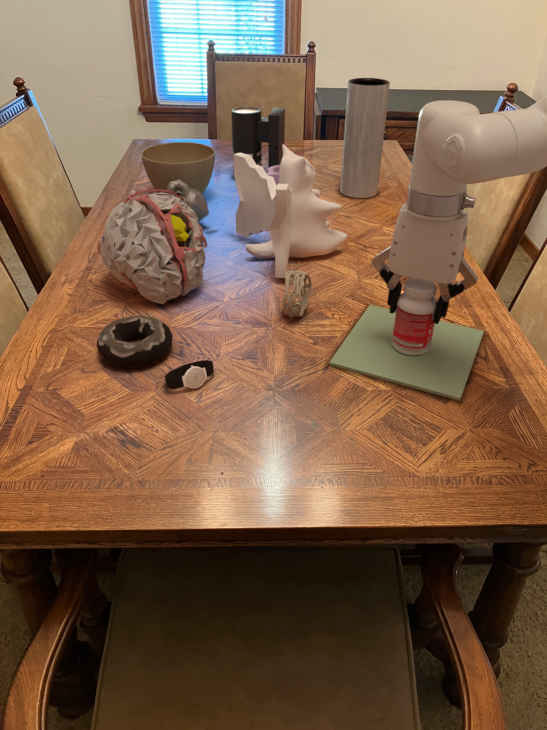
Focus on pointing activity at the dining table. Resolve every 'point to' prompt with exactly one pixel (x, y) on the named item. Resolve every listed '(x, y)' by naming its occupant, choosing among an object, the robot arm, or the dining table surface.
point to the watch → (189, 375)
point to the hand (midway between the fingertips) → (415, 313)
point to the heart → (190, 198)
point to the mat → (423, 372)
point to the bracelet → (296, 292)
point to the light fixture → (258, 133)
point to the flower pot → (179, 164)
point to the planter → (363, 136)
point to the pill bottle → (415, 317)
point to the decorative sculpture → (154, 245)
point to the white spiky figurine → (284, 210)
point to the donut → (134, 341)
